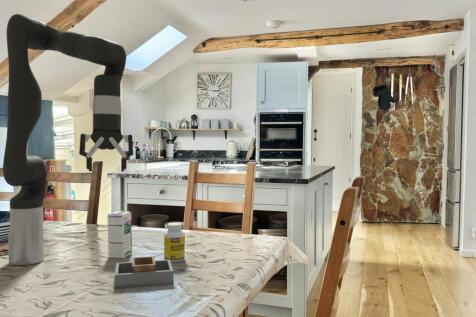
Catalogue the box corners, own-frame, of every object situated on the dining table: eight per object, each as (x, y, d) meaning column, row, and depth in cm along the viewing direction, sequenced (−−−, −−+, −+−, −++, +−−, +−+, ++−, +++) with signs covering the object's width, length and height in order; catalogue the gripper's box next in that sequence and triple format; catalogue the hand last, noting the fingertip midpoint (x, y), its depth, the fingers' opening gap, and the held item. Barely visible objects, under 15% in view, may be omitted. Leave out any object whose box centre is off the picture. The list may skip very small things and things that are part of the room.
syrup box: (124, 258, 134) (123, 214, 133) (107, 257, 135) (107, 213, 134) (132, 254, 139) (131, 211, 139) (116, 253, 141) (115, 210, 140)
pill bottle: (165, 263, 129) (165, 226, 128) (163, 257, 135) (163, 222, 134) (186, 262, 130) (186, 225, 130) (183, 256, 137) (183, 221, 136)
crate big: (114, 288, 107) (114, 275, 106) (116, 275, 117) (116, 262, 117) (173, 283, 110) (173, 270, 110) (169, 271, 121) (169, 259, 121)
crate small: (132, 283, 109) (132, 266, 109) (132, 273, 117) (132, 257, 117) (155, 281, 110) (155, 264, 110) (154, 271, 119) (153, 256, 118)
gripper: (78, 111, 110) (77, 172, 110) (133, 113, 113) (133, 172, 114) (81, 113, 117) (81, 170, 118) (133, 114, 121) (133, 170, 121)
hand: (106, 171), depth 116 cm, fingers open, 8 cm apart
